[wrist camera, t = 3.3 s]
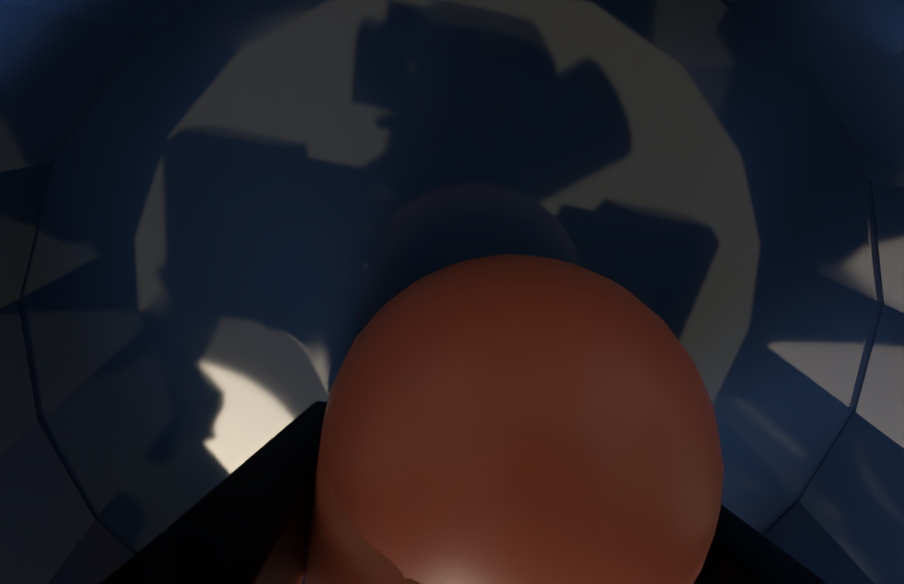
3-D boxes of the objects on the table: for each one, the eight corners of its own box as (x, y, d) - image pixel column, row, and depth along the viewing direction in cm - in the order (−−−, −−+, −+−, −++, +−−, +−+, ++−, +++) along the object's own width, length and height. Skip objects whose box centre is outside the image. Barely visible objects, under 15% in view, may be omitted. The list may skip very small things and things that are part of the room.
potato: (321, 549, 11) (247, 906, 6) (367, 187, 8) (285, 345, 3) (540, 566, 11) (625, 901, 7) (662, 240, 8) (971, 437, 4)
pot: (58, 643, 12) (-102, 891, 8) (-118, -318, 5) (-1200, -1131, 2) (694, 675, 14) (790, 880, 11) (1099, 22, 8) (1713, -35, 4)
